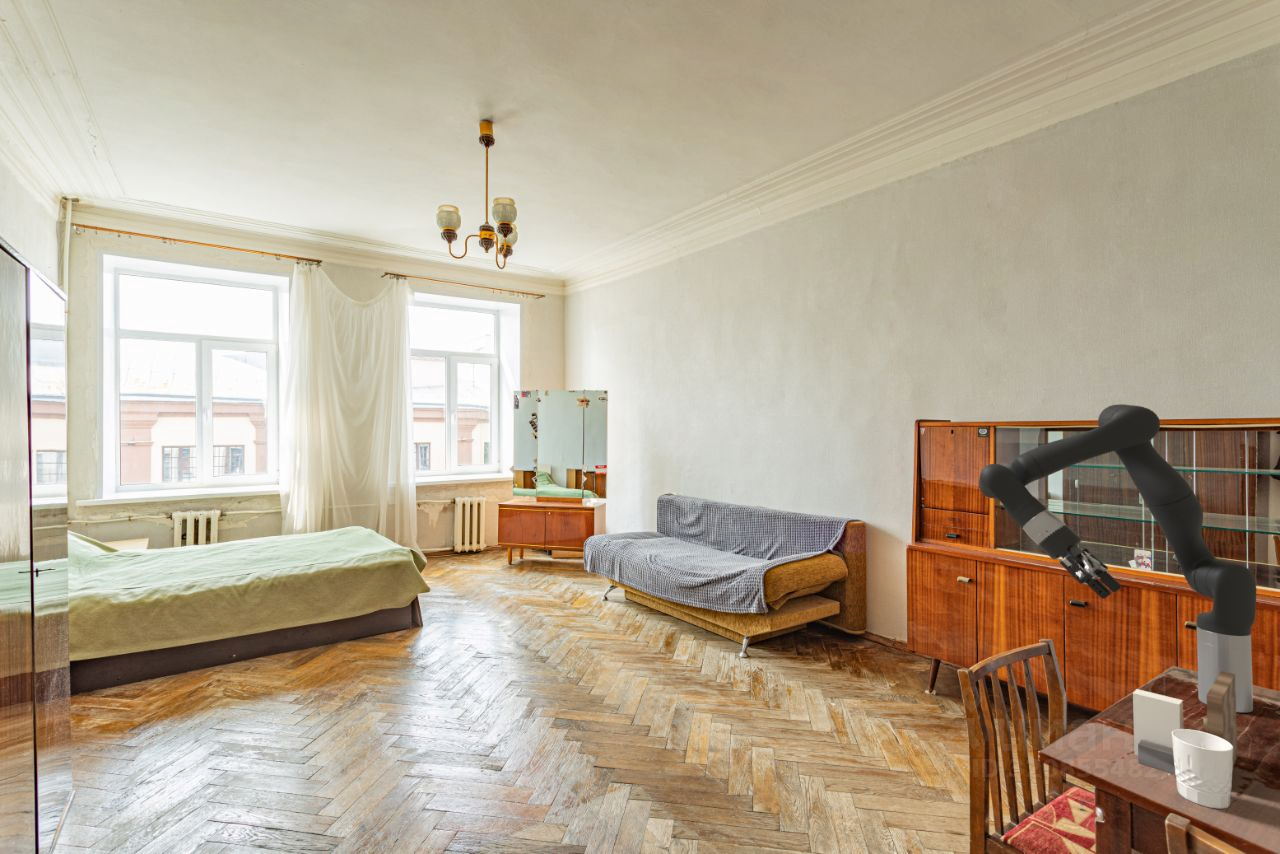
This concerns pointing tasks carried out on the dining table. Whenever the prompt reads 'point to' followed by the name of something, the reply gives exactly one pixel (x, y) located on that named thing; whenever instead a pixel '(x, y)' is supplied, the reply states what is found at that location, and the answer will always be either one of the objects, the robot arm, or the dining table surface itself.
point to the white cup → (1203, 767)
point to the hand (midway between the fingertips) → (1113, 593)
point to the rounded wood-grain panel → (1216, 723)
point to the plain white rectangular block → (1155, 718)
